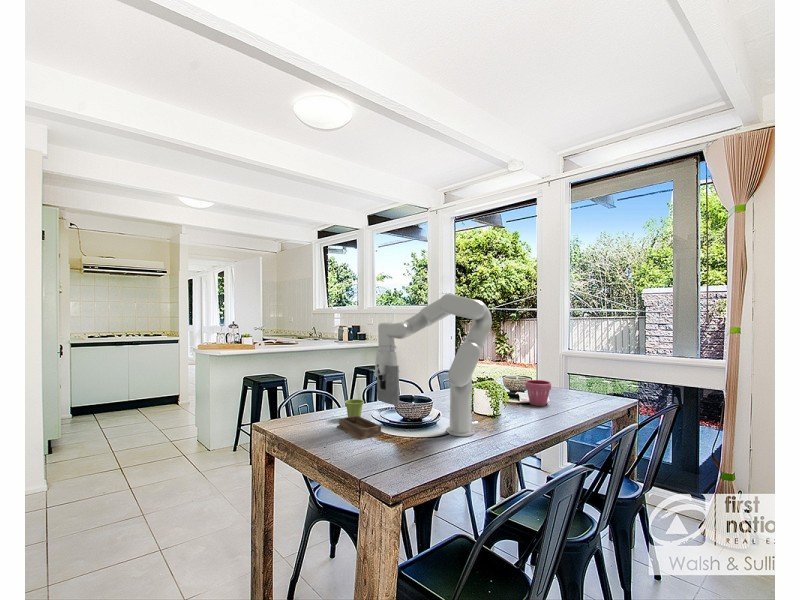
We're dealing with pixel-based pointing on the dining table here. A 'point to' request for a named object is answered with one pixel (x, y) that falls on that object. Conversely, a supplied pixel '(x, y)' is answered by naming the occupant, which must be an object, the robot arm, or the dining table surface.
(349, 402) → the plant pot
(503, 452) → the dining table surface
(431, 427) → the dining table surface
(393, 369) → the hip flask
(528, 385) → the plant pot
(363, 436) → the walnut stand
